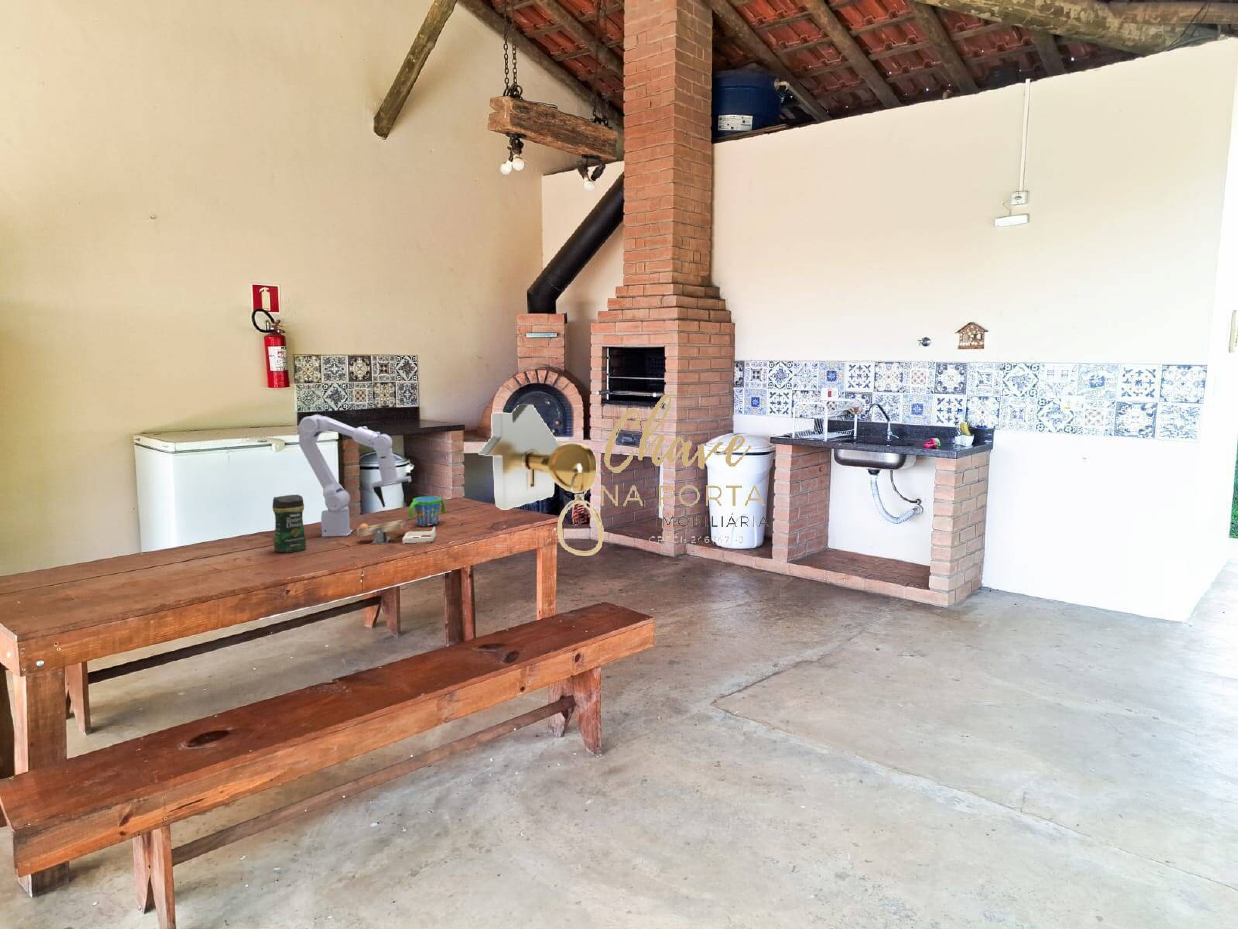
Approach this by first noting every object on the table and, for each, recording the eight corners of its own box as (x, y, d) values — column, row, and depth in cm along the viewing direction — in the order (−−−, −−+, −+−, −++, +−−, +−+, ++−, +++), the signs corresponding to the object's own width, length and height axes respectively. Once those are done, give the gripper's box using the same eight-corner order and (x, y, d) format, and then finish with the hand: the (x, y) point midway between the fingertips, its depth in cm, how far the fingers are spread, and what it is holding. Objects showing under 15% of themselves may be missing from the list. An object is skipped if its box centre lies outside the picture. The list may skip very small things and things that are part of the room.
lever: (357, 537, 277) (356, 530, 277) (365, 529, 290) (363, 522, 289) (401, 528, 278) (400, 522, 278) (406, 520, 291) (405, 514, 291)
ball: (359, 533, 278) (358, 525, 278) (361, 531, 281) (359, 523, 281) (368, 532, 279) (366, 523, 278) (370, 530, 281) (368, 521, 281)
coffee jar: (280, 554, 263) (277, 499, 260) (271, 550, 269) (268, 495, 266) (310, 549, 269) (306, 495, 267) (300, 545, 275) (297, 492, 272)
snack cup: (438, 519, 316) (437, 494, 315) (452, 523, 309) (452, 497, 307) (402, 525, 305) (401, 499, 304) (416, 530, 298) (415, 503, 296)
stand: (371, 544, 276) (371, 530, 276) (376, 538, 285) (375, 524, 284) (386, 543, 277) (386, 529, 276) (390, 538, 286) (390, 524, 285)
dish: (402, 543, 277) (402, 534, 276) (406, 537, 287) (406, 527, 286) (432, 543, 278) (431, 533, 278) (435, 536, 288) (435, 526, 287)
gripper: (366, 473, 283) (373, 510, 285) (408, 465, 287) (415, 502, 289) (367, 470, 290) (374, 507, 292) (408, 463, 293) (415, 499, 295)
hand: (394, 504), depth 291 cm, fingers open, 7 cm apart
